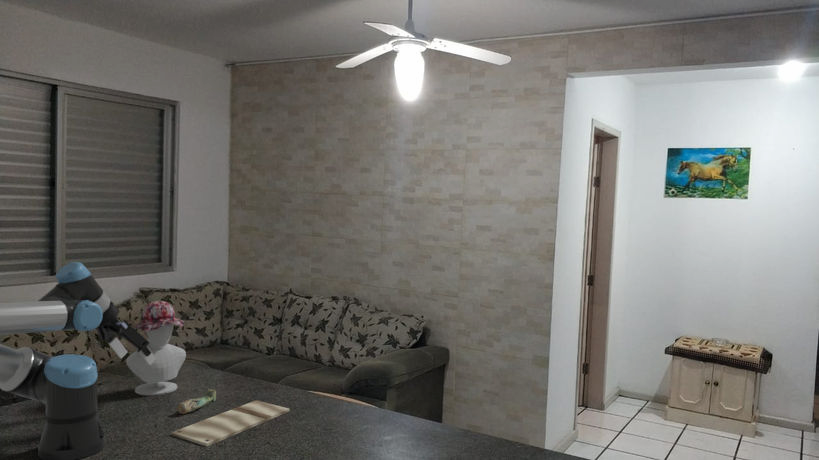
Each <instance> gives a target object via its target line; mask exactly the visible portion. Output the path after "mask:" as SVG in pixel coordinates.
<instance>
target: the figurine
mask: <svg viewBox="0 0 819 460" xmlns="http://www.w3.org/2000/svg"><path fill="white" fill-rule="evenodd" d="M216 400H217V391H216V390H215V389H210V388H208V389H207V390H206V394H205V396H202V397H198V398H189V399H187V400H184V401H181V402H179V403H178V404H177V412H178V413H179V414H182V415H184V414H188V413H191V412H194V411H196V410H199V409H201V408H202V407H204V406H206V405H208V404H210V403H213V402H216Z"/></svg>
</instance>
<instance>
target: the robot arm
mask: <svg viewBox="0 0 819 460" xmlns="http://www.w3.org/2000/svg"><path fill="white" fill-rule="evenodd" d="M55 279H56V280H57V284H55V286H54V287H52V289H51V290H49V291H48V292H47V293H45V295H43V296H42V297H41V298H40V299H39V300H37V301H36V300H35V301H14V302H11V301H10V302H0V336H7V335H10V336H11V335H21V334H32V333H48V332H57V331H71V330H72V331H73V330H75V331H76V330H77V331H80V332H90V331H93V330H95V329H96V332H97V334H98V337H99V339H100V341H103V342H105V343H106V344H108V345H109V346H110V348H111V349H112V350H113V352H114V353H115V354H116V355H117V356H118V357H119V359H123V358H124V357H125V356H126V354H128V352H129V351H128V349H126V348H125V346H124V345H123V344H122V343H121V341H120V340H119V338H122V339H124V340H126V341H127V343H130V344H131V345H132V346H133V347H135V348H136V350H137V352H139V353H140V355H141V356H142V357H143V358H144V360H145V361H146V362H147V364H148V365H151V364H152V363H153V362H154V361H155V360H156V357H155V356H154V355H153V353H152V352H151V351H150V349H149V348H148V347H147V345H148V344H149V342H148V341H147V339H146V338H145V337H144V336H143V335H141V333H140V332H138V330H136V328H134V327H133V326H132V325H131V324H130V322H128V321H127V320H126V319H124V320H123V321H122V320H121V319H119V318H118V316H119V315H118V314H119V309H118V308H117V307H116V305H115V304H114V302H113V301H112V300H111V298H110V297H109V296H108V295H107V294H106V290H103V288H102V287H101V285H100V284H99V283H98V282H97V280H96V278H95V277H94V276H93V275H92V273H91V272H90V270H88V268H87V267H86V266H85V265H84V264H83V263H82V262H79V261H73V262H72V261H71V262H69V263H67V264H65V265H64V266H62V267H61V268H60V269H58V272H56V274H55ZM116 336H117V337H116ZM118 337H119V338H118ZM0 389H1V390H2V391H4V392H7V393H11V394H14V395H17V396H19V397H21V398H25V399H30V400H33V401H36V402H39V403H42V404H44V405H45V424H44V427H43V431H42V434H41V437H40V439H39V444H38V446H37V447H38V450H37V451H38V452H37V454H38V457H39V458H41V459H42V460H79V459H83V458H86V457H90V456H92V455H94V454H97V453H98V452H100V451H101V450H102V449H104V448H105V446H106V436H105V433H104V429H103V428H102V425H101V421H100V419H99V417H98V367H97V364H96V361H95V360H94V359H93V358H91V357H90V356H87V355H83V354H74V353H72V354H71V353H69V354H61V355H56V356H52V355H50V354H47V353H44V352H41V351H38V350H37V349H34V348H30V347H27V346H23V347H22V346H21V347H20V348H18V349H16V348H13V347H9V346H7V345H5V344H1V343H0Z"/></svg>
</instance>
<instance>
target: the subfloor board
mask: <svg viewBox="0 0 819 460" xmlns="http://www.w3.org/2000/svg"><path fill="white" fill-rule="evenodd" d="M290 410H291V409H290V408H288V407H284V406H281V405H277V404H272V403H268V402H265V401H261V400H253V401H250V402H249V403H248V402H247V403H245V404H242V405H240V406H236V407H233V408H232V409H230V410H228V411H227V410H226V411H224V412H221V413H219V414H217V415H214V416H211V417H209V418H205V419H204V420H201V421H198V422H195V423H193V424H190V425H187V426H184V427H182V428H179V429H177V430H175V431H172V432H171V434H170V435H171V436H173V437H176V438H179V439H182V440H186V441H189V442H192V443H195V444H198V445H202V446H204V447H209V446H212V445H214V444H216V443H219V442H221V441H224V440H226V439H228V438H231V437H233V436H235V435H237V434H240V433H242V432H244V431H247V430H249V429H251V428H253V427H256V426H259V425H261V424H263V423H266V422H268V421H271V420H272V419H273V420H274V419H275V418H278V417H279V416H281V415H282V416H283V415H284V414H287V413H289V412H290Z"/></svg>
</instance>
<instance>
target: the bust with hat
mask: <svg viewBox="0 0 819 460" xmlns="http://www.w3.org/2000/svg"><path fill="white" fill-rule="evenodd" d="M141 313H142V314H141V317H142V320H141V321H140V322H139V323H137V324H136V325H134V327H133V328H134V329H140V330H142V331H145V332H146V336H147V339H146V340H147V341H148V342H149V344H148V345H147V347H148V348H149V349H150V351H151V352H152V353H153V355H154V356H155V357H156V360H155V361H154V362H153V363H152V364H151V365H148V364H147V362H146V361H145V360H144V358H143V357H142V356H141V355H140V353H139V352H137V350H138V349H136V350H135V351H134V352H132V353H131V354H129V356H128V357H127V358H126V359H125V363H126V366H127V367H128V368H129V370H131V372H132V373H133V374H134V375H135V376H137V377H138V378H139V379H141V381H143V382H144V384H140V385H139V386H136V387H135V389H134V392H135V393H136V394H137V395H141V396H159V395H166V394H169V393H172V392H174V391H175V390H177V389H178V384H176V383H175V382H171V381H170V380H174V379H176V378H177V376H178V373H179V371H180V370H181V367H182V365H183V363H184V362H185V360H186V357H187V352H186V350H185V349H183V348H181V347H179V346H176V345H173V344H170V343H169V342H170V339H171V337H172V335H173V330H174V327H175V326H174V325H176V326H178V327H183V326H185V321H184V320H182V319H180V318H177V317H175V315H176V313H175V309H174V306H173V305H172V304H171V303H170V302H167V301H163V300H155V301H152V302H149V303H148V304H146V305H145V306H144V308H143V310H142V312H141ZM165 393H166V394H165Z"/></svg>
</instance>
